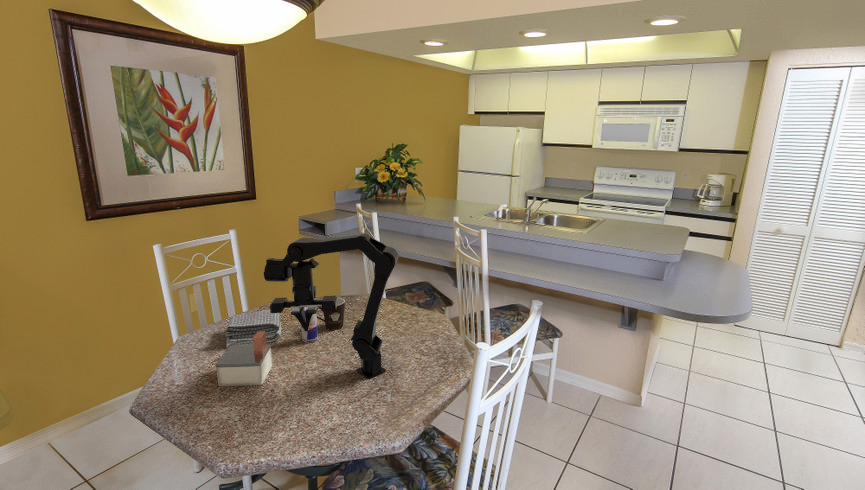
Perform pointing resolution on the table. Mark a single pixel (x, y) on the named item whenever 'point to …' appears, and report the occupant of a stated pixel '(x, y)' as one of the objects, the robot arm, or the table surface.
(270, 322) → the towel
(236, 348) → the lid
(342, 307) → the coffee mug
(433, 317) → the table surface
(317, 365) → the table surface
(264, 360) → the cream open box
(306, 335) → the energy drink
